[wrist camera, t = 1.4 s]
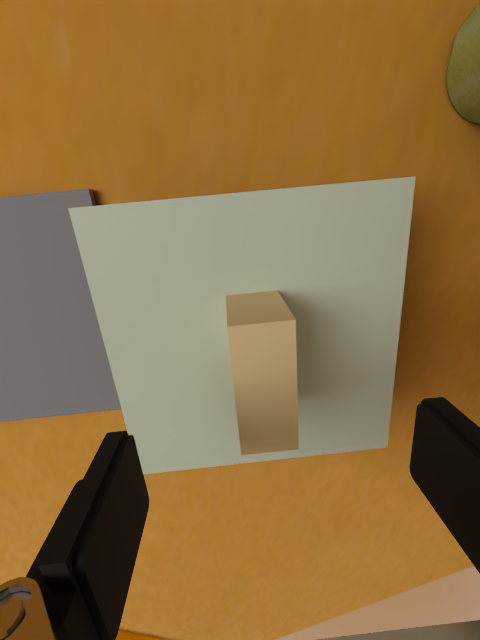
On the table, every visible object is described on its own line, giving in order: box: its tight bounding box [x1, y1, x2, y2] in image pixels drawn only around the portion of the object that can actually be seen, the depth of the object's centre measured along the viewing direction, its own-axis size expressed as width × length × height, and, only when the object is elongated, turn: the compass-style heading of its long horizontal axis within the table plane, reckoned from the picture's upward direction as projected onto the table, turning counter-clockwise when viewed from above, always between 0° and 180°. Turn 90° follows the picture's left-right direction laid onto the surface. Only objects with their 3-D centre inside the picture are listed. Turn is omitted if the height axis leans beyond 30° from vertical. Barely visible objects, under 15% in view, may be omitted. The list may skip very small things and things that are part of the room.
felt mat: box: [0, 189, 121, 422], centre depth 21 cm, size 15×15×1 cm
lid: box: [68, 176, 416, 474], centre depth 15 cm, size 15×15×5 cm
